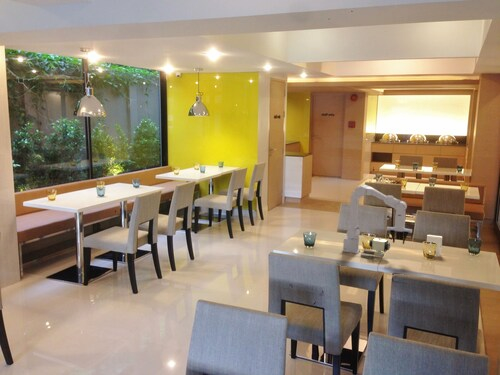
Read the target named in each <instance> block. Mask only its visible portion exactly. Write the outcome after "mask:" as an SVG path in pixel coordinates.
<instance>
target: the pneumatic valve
mask: <svg viewBox="0 0 500 375" xmlns="http://www.w3.org/2000/svg"><path fill="white" fill-rule="evenodd" d="M368 244H369V247H370V248H371V251H375V253H374V254H373V256H374V258H379V259H381V258H384V257H385V256H384V254H385V253H386V252H387V251H389V250H390V249H391V243H390V242H389V240H387V239H381V237H380V238H372V239H370V240H369V243H368Z"/></svg>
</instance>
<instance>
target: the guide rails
mask: <svg viewBox="0 0 500 375" xmlns="http://www.w3.org/2000/svg"><path fill="white" fill-rule="evenodd" d="M375 252H376V250H366V249H363V253H364V254H362V253H361V254H360V258H364V259H365V258H366V259H374V258H375V255H374V253H375ZM369 254H372V255H369Z"/></svg>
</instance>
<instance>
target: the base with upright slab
mask: <svg viewBox="0 0 500 375" xmlns="http://www.w3.org/2000/svg"><path fill="white" fill-rule="evenodd" d="M427 242H433V243H436V244H437V245H438V246H437V249H436V256H435V257H441V256H442V246H443V236H442V235H434V234H427V235H426V243H427Z"/></svg>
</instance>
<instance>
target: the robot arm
mask: <svg viewBox="0 0 500 375" xmlns="http://www.w3.org/2000/svg"><path fill="white" fill-rule="evenodd" d="M364 196H373V197H376V198H377V199H379V200H381V201H383V202H384V204H385V205H387V206H389V207H390V208H393V209H394V210H395V217H394V218H395V219H394V220H395V221H394V226H386V231H387V232H388V231H390V235H391V237H392V243H393V244H394V243H395V240H396V239H395V237H396V232H399V233H400V232H401V233H403V238H402V239H403V240H402V245H404V244H405V241H406V239H407V237H408V235H409V234H412V233H413V229H412V228H406V210H407V208H408V204H407V202H405V200H401V199H398V198H395V197H394V196H393V195H392V194H391V195H389V194H388V195H385V194H384V193H382V192H381V191H378V190H377V189H376V188H374V187H372V186H369V185H368V184H362V185H360V186H357V187H356V188H355V189H354V190H353V192H352V194H351V195H350V206H349V224H348V227H347V228H348V229H347V230H346V232H345V233H346V236H347V237H343V246H342V252H344V253H352V254H358V253H359V252H360V251H361V250H360V249H359V245H360V244H359V243H360V235H361V229H360V224H359V211H360V210H359V207H360V206H359V205H360V203H359V202H360V199H361V198H362V197H364Z"/></svg>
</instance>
